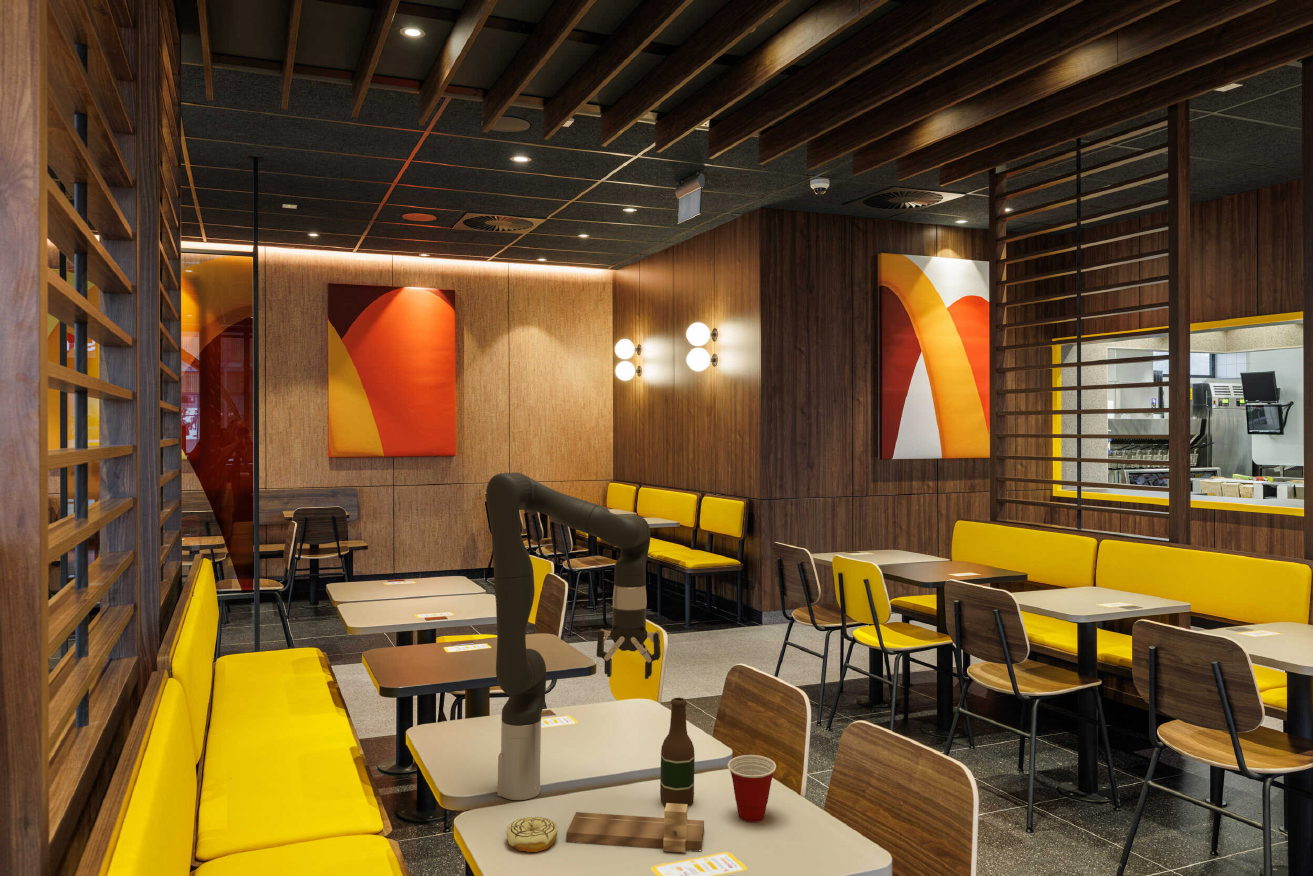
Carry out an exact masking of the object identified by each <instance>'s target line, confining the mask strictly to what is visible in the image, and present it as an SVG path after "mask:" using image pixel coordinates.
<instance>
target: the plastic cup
mask: <svg viewBox="0 0 1313 876" xmlns="http://www.w3.org/2000/svg"><path fill="white" fill-rule="evenodd" d="M727 768H728V770H729V772H730V775H731V779H732V785H733V791H734V792H733V793H734V799H735V802H736V803H735V804H736V809H737V814H738V818H739V819H740V820H742V821H744V822H749V823H757V822H761V821H763V820H764V819H765V816H766V811H767V806H768V802H769V796H770V791H771V785H772V780H773V778H774V777H773V776H774V773H775V771H776V769H777V764H776V763H775V761H774V760H772V759H771V758H769V757H766V756H762V755H756V754H743V755H739V756H736V757H733V758H731V759H730V760H729V761H728V763H727Z"/></svg>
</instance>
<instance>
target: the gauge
mask: <svg viewBox="0 0 1313 876" xmlns="http://www.w3.org/2000/svg"><path fill="white" fill-rule="evenodd" d="M664 808H665V809H664V817H663V818H664V840H663V852H675V853H686V850H685V843H686V836H687V819H688V808H689V807H688V804H675V803H666V807H665V806H664Z"/></svg>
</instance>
